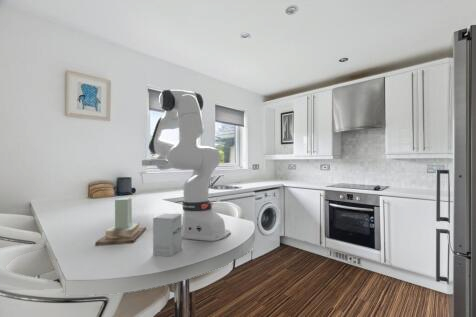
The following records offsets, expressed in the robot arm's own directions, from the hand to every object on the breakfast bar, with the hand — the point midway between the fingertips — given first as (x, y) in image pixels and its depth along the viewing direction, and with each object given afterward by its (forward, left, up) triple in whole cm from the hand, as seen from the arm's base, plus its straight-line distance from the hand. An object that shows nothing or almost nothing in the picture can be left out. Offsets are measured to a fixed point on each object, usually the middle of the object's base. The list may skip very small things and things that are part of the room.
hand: (158, 162), depth 119 cm
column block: (-4, +23, -28) cm, 37 cm away
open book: (-4, +23, -32) cm, 40 cm away
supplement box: (-34, +27, -32) cm, 54 cm away
